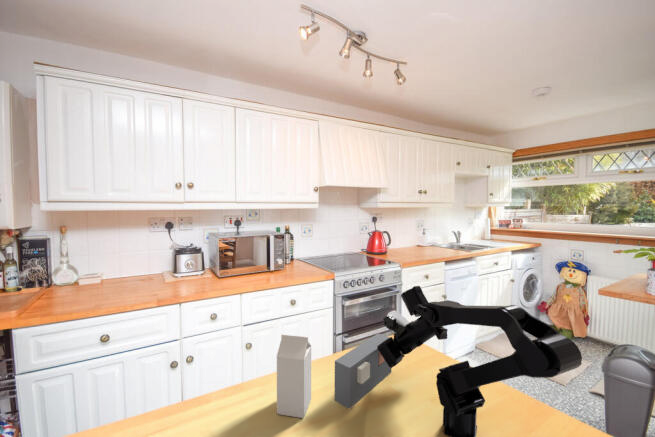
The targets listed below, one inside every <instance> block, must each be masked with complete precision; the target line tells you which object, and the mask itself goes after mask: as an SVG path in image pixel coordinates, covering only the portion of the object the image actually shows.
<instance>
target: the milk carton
mask: <svg viewBox="0 0 655 437" xmlns="http://www.w3.org/2000/svg"><path fill="white" fill-rule="evenodd" d="M280 338H281V339H280V343H279V346H278V350H277V353H276V414H277V415H282V416H288V417H295V418H300V419H304V418H305V416H306V414H307V411H308V408H309V405H310V403H311V402H312V401H311V400H312V345H311V343H310V342H309V337H308V336H301V335H291V334H281V336H280Z"/></svg>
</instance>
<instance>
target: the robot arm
mask: <svg viewBox="0 0 655 437" xmlns="http://www.w3.org/2000/svg"><path fill="white" fill-rule="evenodd" d="M400 298H401V300H402V301H403V303H404V305H405V308H406V309H407V312H408V313H409V315H410V316H411V317H413V316H414V317H415V318H417V317H418V318H417V319H414V320H412V321H408V320H407V318H406V317H405V316H403V315H402V314H401V313H399V312H398V311H397V310H394V309H393V310H392V311H389V312H388V313H387V314H386V315H385V317H383V318H382V321H383V325H384V326H385V328H387V329H388V330H389V331H392V332H394V333H393V337H392V336H389V337H390V338H389V339H387V340H385V341H384V342H382V343H381V344H379V345H378V346H377V348H378V350H379V352H380V353H381V355H382V356H383V358H384V360H385V361H386V363H387V364H388V366H389V367H391V368H394V367H395V366H397V365H398V364H400V363H401V362H402V361H403V358H405V355H407V354H410V353H412V352H413V351H414V350H415V349H417V348H420V347H421V346H422V345H423V344H425V343H426V342H428V341H429V340H430V339H432V338H434V337H435V336H436V339H437V340H438V341H439V340H441V341H443V340H447V339H448V328H445V327H446V326H452V325H457V324H459V325H471V326H482V327H484V326H485V327H495V328H500V329H501V330H503V332H504V333H505V335H506V337H507V340H508V341H509V343H510V345H511V347H512V348H513V349H514V352H513V353H512V354H511V355H507V356H504V357H500V358H499V359H495V360H492V361H489V362H486V363H483V364H480V365H476V366H471V365H470V362H469V360H464V361H461V362H458V363H454V364H450V365H448V366H445V367H441V368H438V371H439V372H437V374H436V376H435V377H436V382H435V384H436V390H437V393H438V398H439V403H440V405H441V406H442V407H443V409H442V412H443V413H442V426H444V429H443V434H444V435H445V436H448V437H477V432H478V426H477V410H478V408H483V407H484V405H485V403H486V399H485V397H484V396H483V394H482V391H481V390H480V387H481V386H485V385H489V384H494V383H498V382H502V381H506V380H510V379H513V378H519V377H523V376H524V377H529V378H533V379H535V378H536V379H537V378H539V379H541V378H542V379H543V378H546V379H550V378H554V377H556V376H559V375H562V374H565V373H567V372H570V371H573V370H575V369H578V368H579V367H581V366H582V361H583V355H582V352H581V350H580V349H579V346H578V345H577V344H576V343H575V341H573V340H572V339H570V338H569V337H567V336H565V335H563V334H562V333H560V331H558V330H557V329H556V328H555V327H554V326H552V325H550V324H548V323H546V322H544V321H542V319H539V318H537V317H536V316H534V315H532V314H531V313H529V312H528V311H527V310H526V309H524V308H523V307H521V306H519V305H517V304H510V305H464V304H461V303H459V302H457V301H453V300H443V301H442V300H441V301H430V302H429V301H428V299H427V297H426V294H424V292H423V290H422V287H421V286H420V285H415V286H412V287H411V288H409V289H407V290H405V291H403V292H402V293H401V294H400ZM525 332H526V333H527V334H529V335H531V336H533V337H535V339H530V338H529V337H528V335H527V334H526V333H525Z"/></svg>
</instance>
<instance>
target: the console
mask: <svg viewBox="0 0 655 437" xmlns="http://www.w3.org/2000/svg"><path fill="white" fill-rule="evenodd" d="M390 337H391V336H386V335H384V334H381V333H379V332H378V333H376V334H375V335H374V336H373V335H372V336H371V337H370V338H368V339H367V340H365V341H364V342H362V343H361V344H359V345H357V346H355V348H352V349H351V350H349V351H348V352H347V353H345V354H343V355H342V356H340V357H338V358H337V359H335V360H334V401H335V402H337V403H338V404H340V405H342V406H344V408H346V409H348V410H350V409H351V408H352V407H354V406H355V405H356V404H357V403H359V401H361V400H362V399H363V398H364V397H365V396H366V395H367V394H369V392H371V391H372V390H374V388H376V386H377V385H379V384H380V383H381V382H382V381H383V380H384V379H385V378H387V377H388V376H389V375H391V374H392V368H393V367H392V368H391V367H389V366H388V364H387V363H386V361H384V362H383V363H381V364H380V365H379V350H378V348H377V346H378V345H379V344H381V343H382V342H384V341H385V340H387V339H389V338H390ZM365 361H366V362H368V363H370V378H369V379H368V380H366V381H365V382H364V383H363V384H360V383H358V382H357V367H358V366H359V365H361V364H362V363H363V362H365Z"/></svg>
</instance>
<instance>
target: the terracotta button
mask: <svg viewBox="0 0 655 437" xmlns="http://www.w3.org/2000/svg"><path fill="white" fill-rule="evenodd" d="M384 361H385V360H384V358H383V356H382V355H381V353H380V352H379V365H380V364H381V363H383V362H384Z"/></svg>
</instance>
